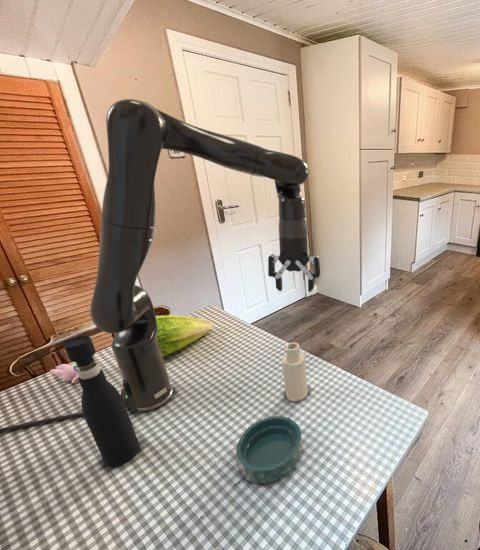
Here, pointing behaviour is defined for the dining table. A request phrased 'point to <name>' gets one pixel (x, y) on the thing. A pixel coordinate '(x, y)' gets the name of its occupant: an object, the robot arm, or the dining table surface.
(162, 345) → the lettuce
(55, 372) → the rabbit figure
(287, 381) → the white bottle
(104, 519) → the dining table surface
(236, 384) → the dining table surface
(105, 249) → the robot arm
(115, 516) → the dining table surface
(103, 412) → the black insulated flask
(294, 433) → the dish
